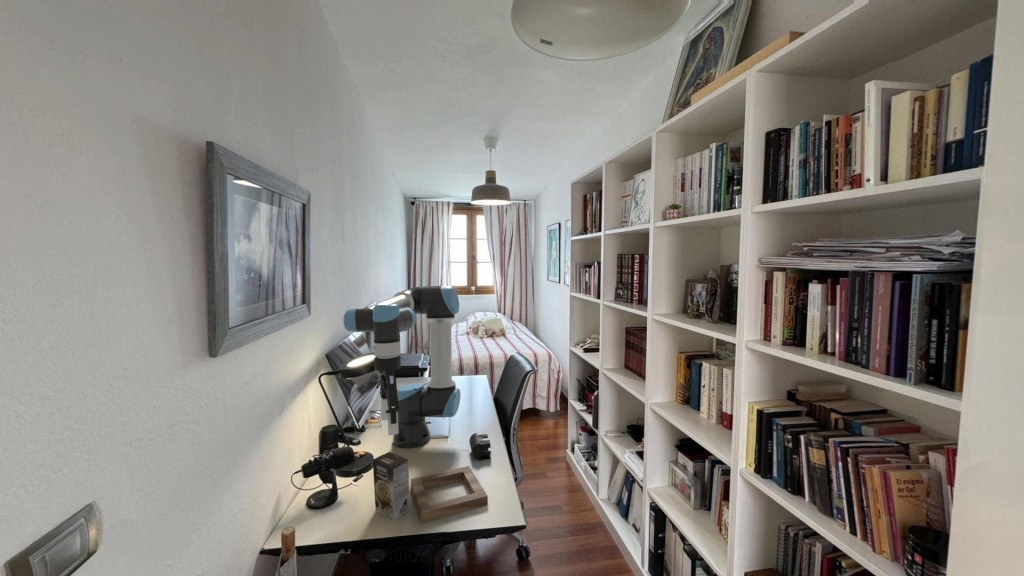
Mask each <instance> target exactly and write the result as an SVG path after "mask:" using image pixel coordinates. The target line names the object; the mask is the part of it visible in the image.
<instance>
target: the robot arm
mask: <svg viewBox="0 0 1024 576" xmlns="http://www.w3.org/2000/svg"><path fill="white" fill-rule="evenodd" d="M458 295H459V294H458V293H457V290H456V289H455V288H454V287H453V286H451V285H431V286H430V285H429V286H428V285H427V286H426V285H425V286H414V287H410V288H408V289H405V290H401V291H399V292H397V293H395V294H394V295H393V296H392V297H391V298H386V299H385V300H382V301H380V302H376V303H374V304H371V305H369V306H366V307H363V308H350V309H348V310H346V311H345V313H344V315H343V319H342V320H343V328H344V329H345V330H346V331H348V332H351V333H369V332H370V333H372V332H373V345H372V346H371V349H372V350H373V351H374V352H373V353H374V356H375V357H374V360H373V361H374V363H373V364H374V367H373V369H374V370H375V371H377V372H380V377H379V378H380V380H379V381H380V383H379V384H380V385H379V386H380V388H379V395H380V399H381V400H380V404H381V405H380V406H381V407H380V410H381V421H387V433H388V434H387V435H388V436H392V439H393V440H392V441H393V442H392V444H393V445H394V446H396V447H398V448H404V449H406V448H407V449H408V448H415V447H420V446H422V445H424V444H426V443H428V442H429V441H430V440H431V431H430V429H429V427H428V424H427V421H426V418H442V419H446V418H453V417H455V415H457V413H458V411H459V408H460V404H461V403H460V402H461V396H462V395H461V394H462V393H461V390H460V388H458V387H456V385H457V383H456V382H455V380H453V376H452V375H453V372H452V371H453V365H452V363H453V362H452V361H453V360H452V354H453V353H452V322H453V321H454V320H455V318H456V316H455V315H456V314H458V313H459V311H460V300H459V296H458ZM417 315H426V317H425V318H426V320H427V322H429V323H430V324H429V325H430V326H429V327H430V328H429V329H430V331H429V332H430V334H429V335H430V336H429V337H430V338H429V339H430V341H429V342H430V381H429V382H428V383H427V385H426V386H427V387H425V384H424V383H421V382H414V383H409V384H405V385H403V386H400V387H398V388H397V376H396V375H395V373H394V371H397V370H399V369H400V368H401V366H402V363H401V356H400V355H401V334H400V333H402V332H407V331H408V330H410V329H412V328H413V327H414V326H415V325H416V322H417Z"/></svg>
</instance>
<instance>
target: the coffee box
mask: <svg viewBox="0 0 1024 576" xmlns="http://www.w3.org/2000/svg"><path fill="white" fill-rule="evenodd" d="M372 468H373V470H372V471H373V472H372V473H373V486H374V487H373V488H374V489H373V490H374V504H375V505H374V507H375V508H374V509H375V511H376V512H378V513H380V514H382V515H384V516H386V517H387V518H389V519H391V520H394V521H396V519H398V518H400V517H401V516H403V515H404V514H406V513H408V512H409V511H410V510H411V502H410V501H411V498H410V476H409V471H410V470H409V458H406V457H404V456H401V455H399V454H396V453H394V452H392V451H391V452H390V451H388V452H386V453H383V454H381V455H379V456H377V457H375V458H373V459H372Z"/></svg>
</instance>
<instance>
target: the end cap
mask: <svg viewBox="0 0 1024 576" xmlns="http://www.w3.org/2000/svg"><path fill="white" fill-rule="evenodd" d="M488 438H489V435H488V434H487V433H486V434H484V433H483V434H478V432H475V433H473V434H472V435H470V437H469V440H468V441H469V446H470V450H471V455H472V456H473V458H474V459H475V460H476V459H477V460H478V461H485V460H491V459H492V457H491V455H492V451H491V450H489V449H491V446H492V444H491V440H490V439H488ZM486 439H487V440H486Z"/></svg>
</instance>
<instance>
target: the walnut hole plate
mask: <svg viewBox="0 0 1024 576" xmlns="http://www.w3.org/2000/svg"><path fill="white" fill-rule="evenodd" d="M461 480H462V481H463V483H464V485H465V486H466V488H467V490H468V491H469V493H470V494H466V495H463V496H462V495H461V496H457V497H454V498H450V499H446V500H442V501H439V502H435V503H432V504H431V503H430V501H429V498H428V495H427V492H426V490H428V489H432V487H433V488H436V487H440V485H441V486H444V484H445V485H449V484H452V483H451V482H454V483H457V482H456V481H458V482H462V481H461ZM448 483H449V484H448ZM410 487H411V492H412V495H413V497H414V501H415V504H416V507H417V511H418V514H419V517H420V521H421V524H424V523H427V522H428V523H429V522H431V521H434V520H438V519H441V518H446V517H449V516H453V515H456V514H460V513H464V512H468V511H472V510H475V509H478V508H482V507H486V506H488V505H489V499H488V493H487V492H486V490H485V489H484V488H483V486H482V484H481V483H480V481H479V480H478V478H477V476H476V475H475V474H474V472H473V470H472V469H471V467H470V465H465V466H461V467H457V468H454V469H453V468H452V469H448V470H445V471H440V472H436V473H432V474H427V475H423V476H418V477H414V478H411V479H410Z"/></svg>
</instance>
